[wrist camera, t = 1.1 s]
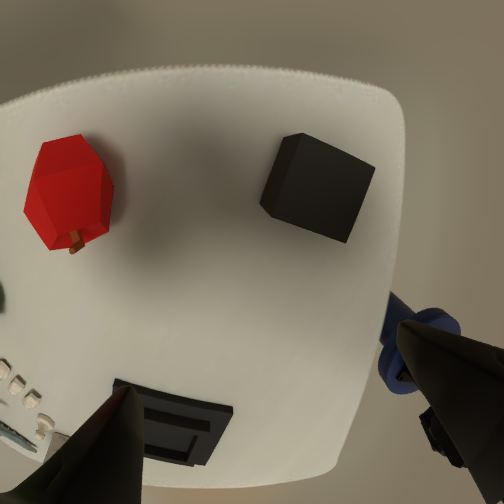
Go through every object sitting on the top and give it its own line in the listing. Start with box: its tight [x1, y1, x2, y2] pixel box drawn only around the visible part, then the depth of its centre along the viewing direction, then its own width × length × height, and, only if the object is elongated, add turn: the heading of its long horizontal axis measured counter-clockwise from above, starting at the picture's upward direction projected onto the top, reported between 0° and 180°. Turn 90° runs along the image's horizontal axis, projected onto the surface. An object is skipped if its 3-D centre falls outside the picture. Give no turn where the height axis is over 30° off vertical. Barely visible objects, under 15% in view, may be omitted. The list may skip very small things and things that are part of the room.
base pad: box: [112, 379, 233, 467], centre depth 25 cm, size 12×12×2 cm
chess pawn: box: [35, 414, 54, 440], centre depth 24 cm, size 3×3×4 cm
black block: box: [259, 133, 375, 243], centre depth 18 cm, size 5×5×4 cm
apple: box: [24, 134, 114, 255], centre depth 15 cm, size 7×7×8 cm
